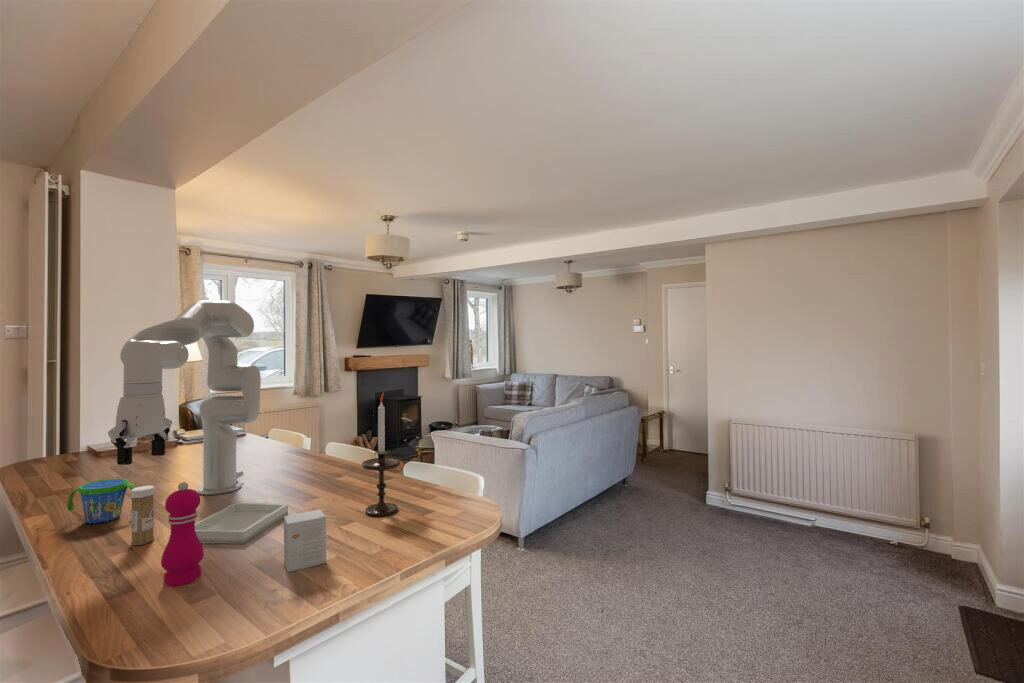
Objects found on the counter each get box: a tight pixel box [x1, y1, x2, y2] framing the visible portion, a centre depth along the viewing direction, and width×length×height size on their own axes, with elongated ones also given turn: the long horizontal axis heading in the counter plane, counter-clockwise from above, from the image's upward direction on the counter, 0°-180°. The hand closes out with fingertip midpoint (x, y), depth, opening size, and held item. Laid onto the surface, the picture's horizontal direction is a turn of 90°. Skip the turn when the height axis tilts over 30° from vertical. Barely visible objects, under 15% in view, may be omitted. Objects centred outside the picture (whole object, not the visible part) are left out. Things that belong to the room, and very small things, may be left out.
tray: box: [195, 502, 289, 545], centre depth 124 cm, size 20×16×3 cm
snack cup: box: [66, 478, 137, 525], centre depth 130 cm, size 16×10×10 cm
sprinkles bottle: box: [130, 485, 155, 546], centre depth 115 cm, size 5×5×13 cm
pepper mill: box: [160, 481, 205, 587], centre depth 97 cm, size 7×7×20 cm
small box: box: [283, 509, 327, 573], centre depth 103 cm, size 8×6×10 cm
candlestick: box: [361, 391, 401, 518], centre depth 136 cm, size 11×11×35 cm
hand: (142, 459), depth 115 cm, fingers open, 9 cm apart
